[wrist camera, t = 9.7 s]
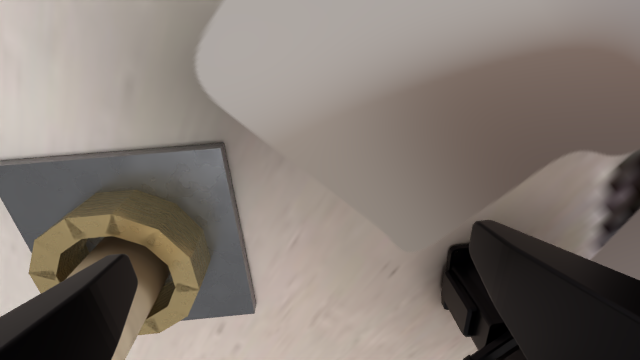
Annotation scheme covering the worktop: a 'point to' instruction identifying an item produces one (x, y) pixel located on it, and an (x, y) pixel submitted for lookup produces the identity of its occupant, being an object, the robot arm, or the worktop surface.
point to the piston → (149, 284)
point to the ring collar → (138, 222)
